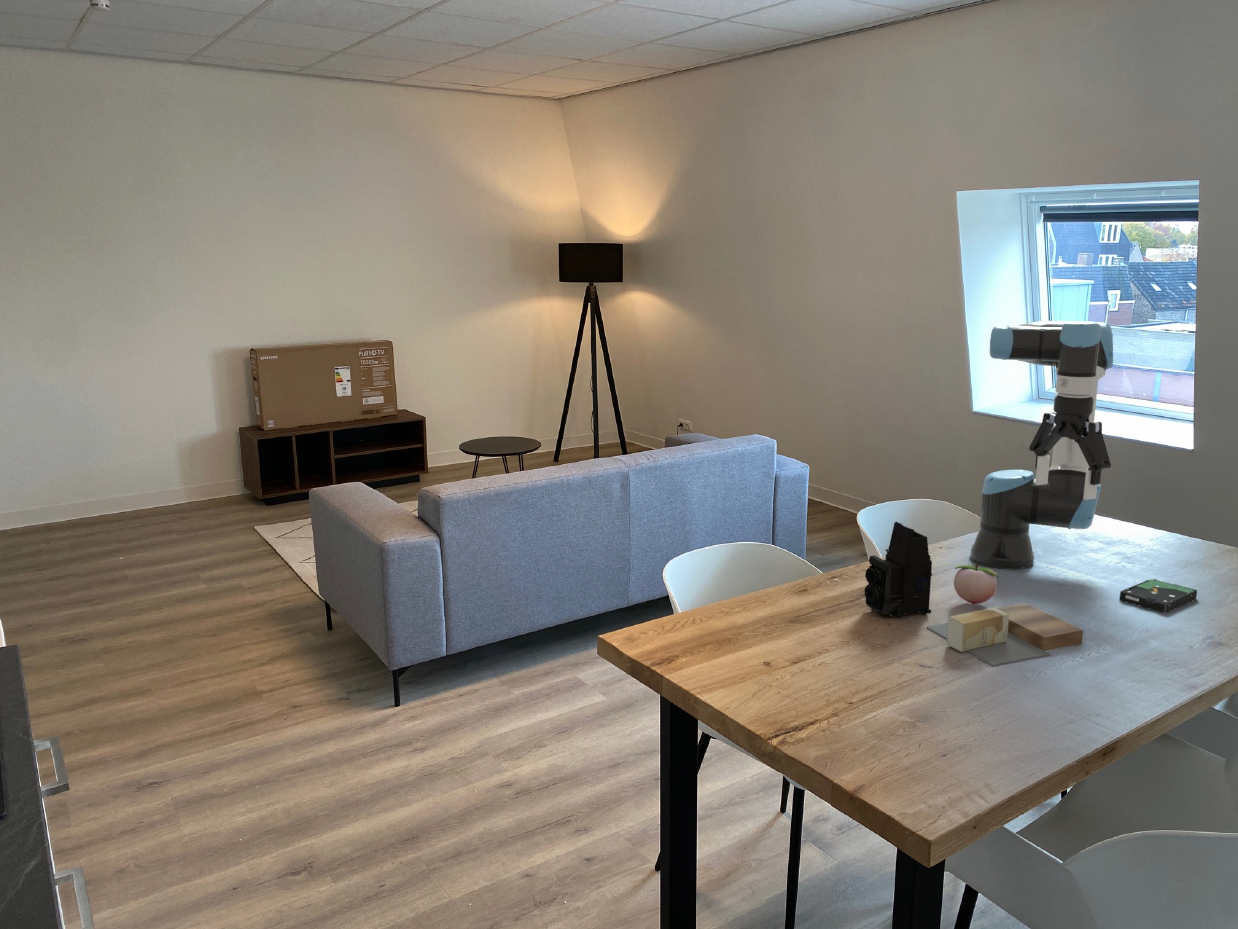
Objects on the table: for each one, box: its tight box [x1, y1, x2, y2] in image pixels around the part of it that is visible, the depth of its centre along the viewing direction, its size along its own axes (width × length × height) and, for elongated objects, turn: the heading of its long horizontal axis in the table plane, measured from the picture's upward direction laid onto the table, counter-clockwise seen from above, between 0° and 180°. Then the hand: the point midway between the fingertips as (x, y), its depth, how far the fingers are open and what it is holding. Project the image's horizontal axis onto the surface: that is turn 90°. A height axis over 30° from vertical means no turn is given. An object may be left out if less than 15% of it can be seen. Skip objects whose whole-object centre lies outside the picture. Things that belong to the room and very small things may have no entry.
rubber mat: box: [926, 622, 1051, 667], centre depth 191 cm, size 20×14×1 cm
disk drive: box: [1119, 578, 1198, 614], centre depth 213 cm, size 10×3×15 cm
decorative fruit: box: [953, 562, 999, 605], centre depth 209 cm, size 9×8×10 cm
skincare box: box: [946, 607, 1009, 652], centre depth 189 cm, size 6×4×12 cm
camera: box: [864, 521, 933, 618], centre depth 205 cm, size 10×14×20 cm
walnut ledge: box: [995, 602, 1084, 652], centre depth 195 cm, size 16×10×3 cm, turn 19°
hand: (1064, 491), depth 203 cm, fingers open, 13 cm apart
